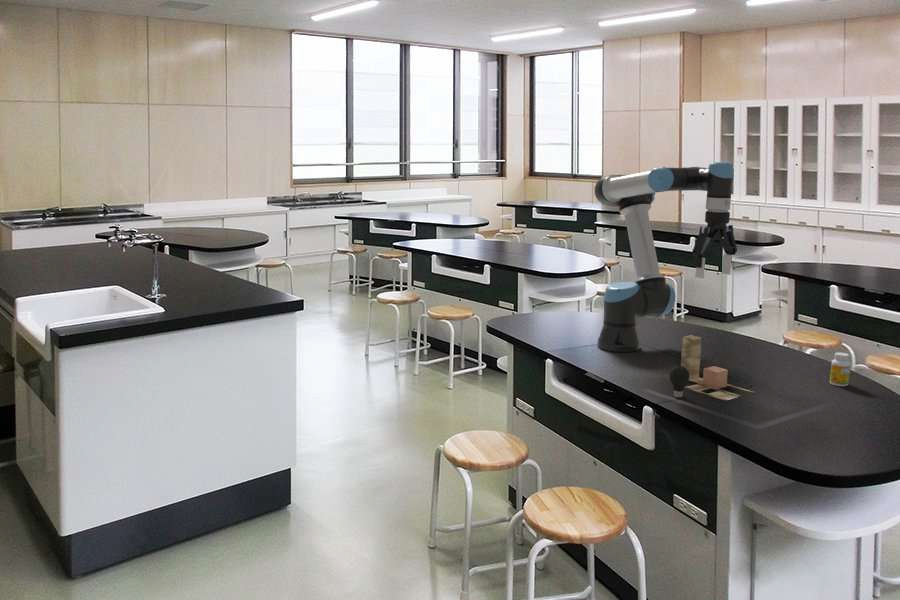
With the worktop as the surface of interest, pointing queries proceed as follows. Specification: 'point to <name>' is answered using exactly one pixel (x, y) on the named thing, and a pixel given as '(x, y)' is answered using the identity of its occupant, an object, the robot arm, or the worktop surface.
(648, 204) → the robot arm
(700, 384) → the lane rails
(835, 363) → the supplement bottle
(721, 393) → the broken strip
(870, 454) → the worktop surface
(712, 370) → the terracotta cube
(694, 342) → the tan boxy piece
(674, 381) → the light bulb
